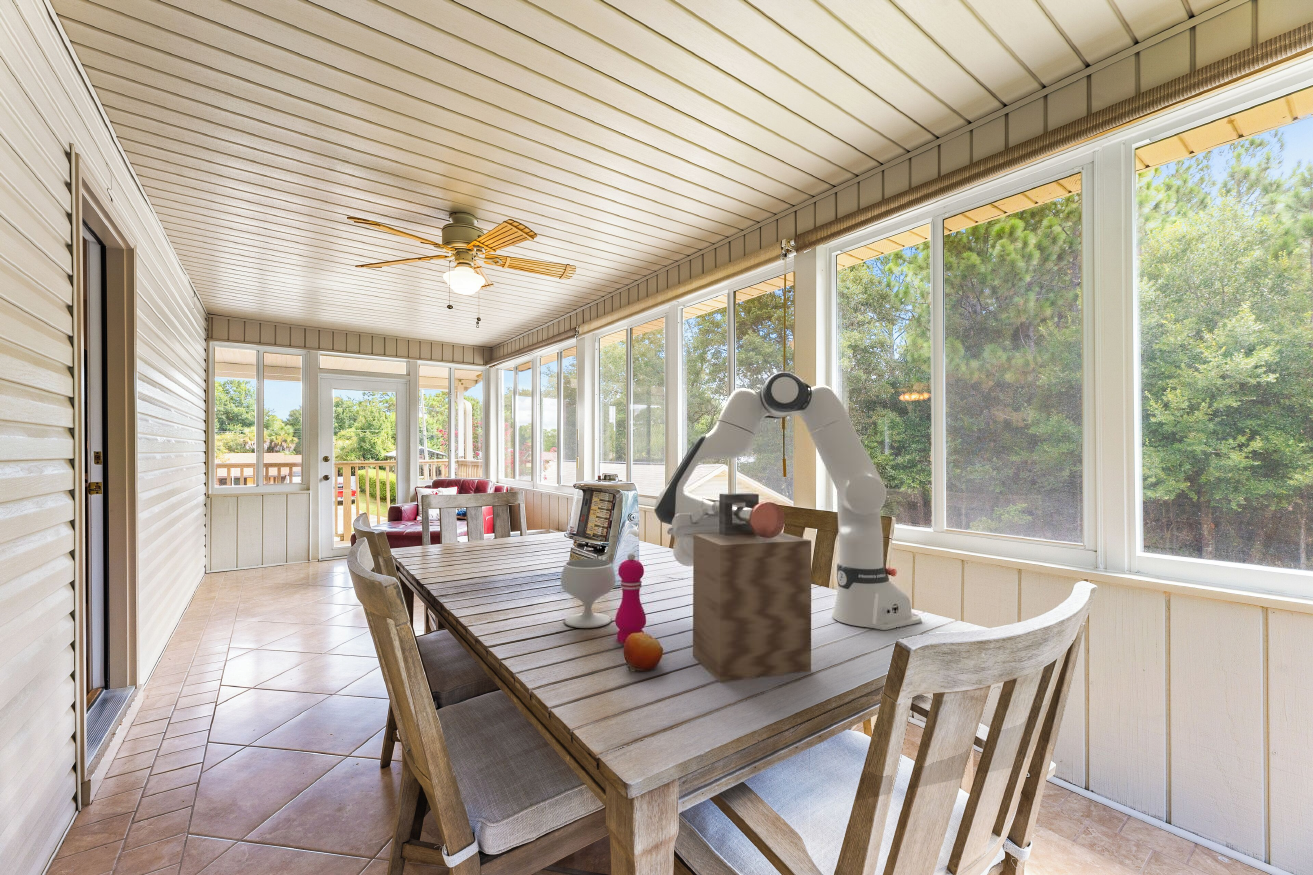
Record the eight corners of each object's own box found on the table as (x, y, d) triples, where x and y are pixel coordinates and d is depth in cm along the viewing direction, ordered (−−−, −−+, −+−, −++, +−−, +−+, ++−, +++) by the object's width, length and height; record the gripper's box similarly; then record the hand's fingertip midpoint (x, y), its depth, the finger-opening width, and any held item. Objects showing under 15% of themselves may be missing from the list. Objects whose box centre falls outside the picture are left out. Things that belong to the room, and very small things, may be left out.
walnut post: (775, 646, 125) (776, 492, 126) (811, 670, 112) (811, 497, 113) (692, 656, 119) (693, 494, 120) (719, 682, 106) (720, 499, 107)
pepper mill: (647, 634, 133) (648, 550, 133) (644, 645, 126) (644, 556, 126) (617, 633, 133) (618, 549, 134) (612, 644, 126) (613, 555, 127)
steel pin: (730, 521, 133) (730, 492, 134) (785, 537, 110) (785, 501, 110) (703, 522, 131) (703, 493, 132) (753, 538, 108) (753, 502, 108)
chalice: (569, 612, 151) (570, 556, 151) (620, 615, 149) (620, 558, 149) (552, 629, 137) (553, 567, 137) (608, 632, 135) (609, 569, 135)
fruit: (608, 657, 114) (628, 621, 116) (639, 673, 117) (657, 637, 118) (622, 672, 107) (642, 633, 109) (654, 688, 109) (673, 650, 111)
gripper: (662, 522, 139) (679, 499, 127) (737, 520, 145) (759, 497, 134) (666, 547, 136) (684, 524, 124) (743, 543, 142) (766, 521, 130)
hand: (724, 510), depth 129 cm, fingers open, 8 cm apart
